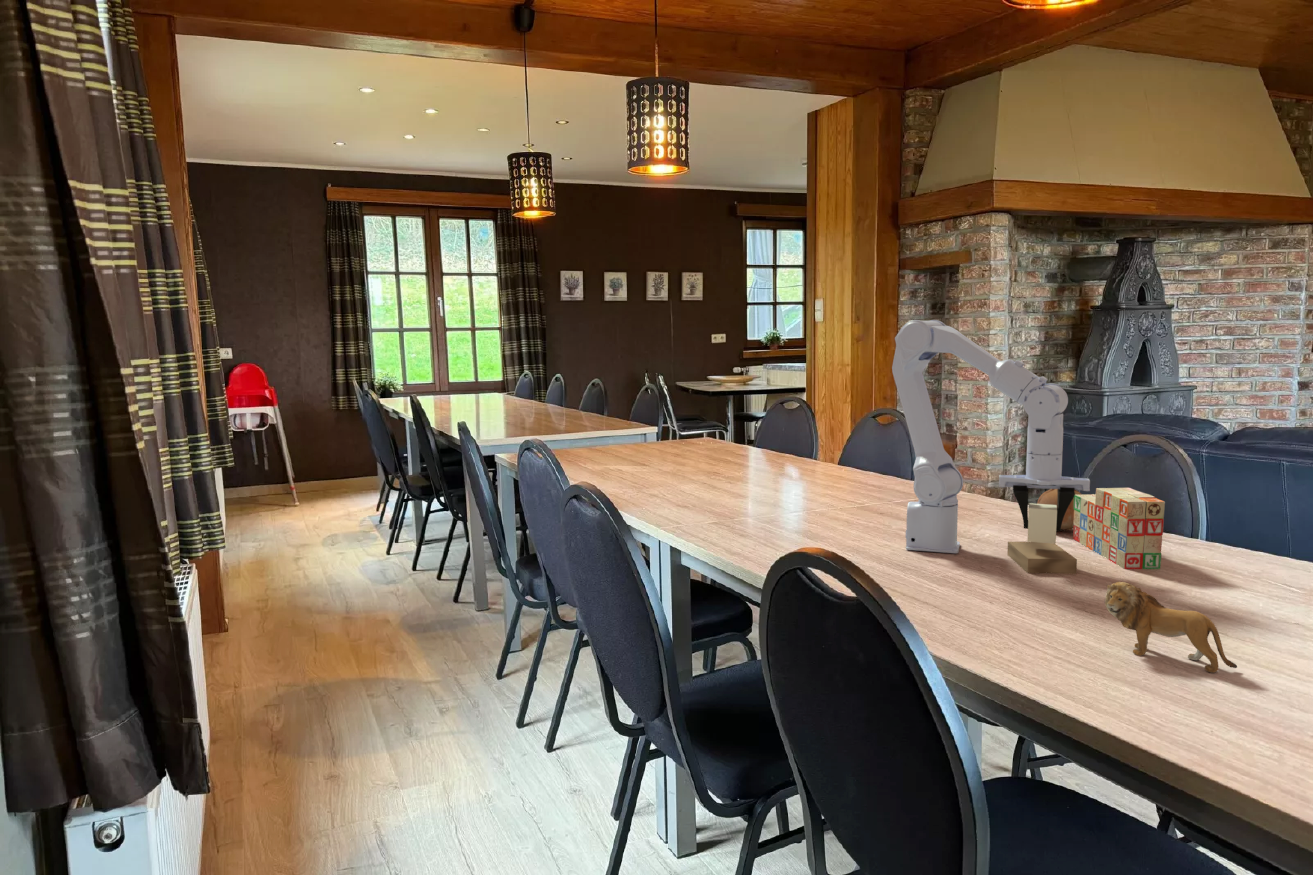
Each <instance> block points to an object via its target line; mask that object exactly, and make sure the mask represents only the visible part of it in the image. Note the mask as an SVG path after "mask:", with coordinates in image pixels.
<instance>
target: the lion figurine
mask: <svg viewBox="0 0 1313 875" xmlns="http://www.w3.org/2000/svg"><path fill="white" fill-rule="evenodd" d="M1106 587H1107V590H1106V594H1105V600H1104V604H1105V607H1106V609H1107V611H1108V612H1109V614H1110V615H1112V616H1113V617H1114V618H1115V619H1117V620H1118V621H1119V622H1120V623H1121V625H1122V627H1123V628H1126V629H1129V630H1132V631H1135V633H1136V639H1137V640H1136V641H1137V643H1134V649H1133V650H1132V653H1133V654H1134V655H1135V656H1139V657H1141V656H1144V655H1145V654H1147V651H1148V644H1149V638H1150V635H1151V633H1153V634H1156V635H1159V636H1164V637H1167V638H1177V637H1181V636H1185V635H1186V636H1187V638H1188V639H1189V641H1190V643H1191V644H1192V645H1193V647H1194V648H1195V649H1196V651H1195V653H1189V654H1188V655H1187V659H1189V660H1191V661H1199V660H1201V658H1203V656H1204V657H1205V658H1206V659H1208V661H1209V662H1210V664H1206V665H1205V666H1204V669H1205V671H1206V672H1207V673H1211V674H1215V673H1217V672H1218V670H1219V667H1220V666H1219V661H1218V655H1219V656H1220V659H1221V660H1222V661H1223V663H1224V665H1226V666H1228V667H1229V668H1234V669H1237V668H1238V666H1237V664H1236V663H1235V662H1232V661H1231V660H1229V659H1228V658H1227V657H1226V655H1225V652H1224V649H1223V645H1222V644H1223V643H1222V640H1221V638H1220V636H1221V635H1220V633H1219V631H1218V629H1217V627H1216V625H1215V623H1214V622H1213V621H1212V619H1210V618H1209V617H1208V616H1207V615H1205V614H1204V613H1201V612H1199V611H1196V610H1181V609H1180V610H1179V609H1174V608H1173V609H1172V608H1168V607H1165V605H1163V604H1161V603H1160V602H1159V601H1158V599H1157V598H1156V597H1155V596H1153V595H1152V594H1148V593H1147V592H1144V591H1143V590H1142V589H1141V587H1137V586H1135V585H1134V584H1132V583H1128V582H1125V581H1117V582H1114V583H1112V584H1108V585H1106ZM1210 633H1212V637H1213V641H1214V643H1215V646H1216V649H1217V651H1218V654H1217V653H1216V652H1215V651H1214V649H1213V648H1211V646H1210V643H1209V641H1208V637H1209V636H1210Z"/></svg>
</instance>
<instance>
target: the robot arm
mask: <svg viewBox="0 0 1313 875" xmlns="http://www.w3.org/2000/svg"><path fill="white" fill-rule="evenodd" d="M894 341H895V351H894V354H893V355H894V356H893V361H892V366H891V369H892V370H891V371H892V375H893V379H894V384H895V386H896V389H897V392H898V396H899V400H900V404H901V407H902V411H903V415H904V418H905V422H906V425H907V430H908V431H909V436H910V439H911V443H912V446H913V449H914V450H913V451H914V453H915V460H914V464H913V467H912V471H913V475H914V480H913V492H914V494H915V496H916V497H917V499H918V501H908V503H907V507H906V529H905V540H906V541H905V543H906V544H905V546H906V547H905V550H908V551H918V552H919V551H920V552H932V553H933V552H934V553H944V554H959V550H960V545H961V543H960V541H958V516H959V514H958V513H959V512H958V510H959V503H958V502H959V500H958V496H957V495H958V494H959V493H960V492H962V488H963V486H964V478H963V475H962V474H961V472H960V470H958V468H957V467H956V466H955V464H954V461H953V457H952V456H951V455H950V454H948V452H947V451H946V450H945V448H944V444H943V441H942V437H941V434H940V430H939V426H938V424H937V420H936V417H935V413H934V409H933V404H932V402H931V398H930V394H929V391H928V387H927V385H926V382H925V381H926V380H925V378H924V370H925V369H926V367H927V366H928V364H929V363H930V361H931V360H932V359H933V358H934V357H935V356H937V355H938V354H939V353H944V354H952V355H954V356H955V357H957V358H958V359H960V360H962V361H964V362H966V363H967V364H969V365H970V366H973V367H974V368H976V369H977V370H979V371H981V373H982V372H983V373H984V374H986V375H987V376H988V378H989V379H988V380H989V384H990V385H991V386H992V387H993V388H994V389H996V390H997V391H999V392H1000V393H1001V394H1004V395H1005V396H1007V397H1008V398H1010V399H1011V400H1013V401H1014V402H1016V403H1017V404H1018V405H1021V406H1023V409H1024V411H1025V413H1026V414H1027V415H1028V416H1027V418H1028V420H1027V432H1026V433H1027V437H1026V439H1027V440H1026V442H1027V443H1026V464H1025V465H1026V466H1025V467H1026V468H1025V474H1009V475H1008V474H1007V475H1006V474H999V475H998V476H999V477H998V488H1012V492H1013V494H1014V495H1013V496H1014V497H1015V499H1016V502H1017V504H1018V507H1019V509H1020V514H1021V516H1022V521H1023V529H1027V530H1028V515H1029V488H1030V489H1046V490H1049V489H1058V496H1057V525H1056V532H1057V531H1058V532H1060V531H1061V525H1062V521H1063V518H1064V515H1065V513H1066V511H1067V509H1068V507H1069V505H1070V503H1071V501H1072V500H1073V498H1074V496H1075V492H1074V491H1075V490H1077V491H1083V492H1090V491H1091V490H1090V488H1091V487H1090V486H1091V480H1090V478H1085V477H1074V476H1072V477H1071V476H1062V472H1063V471H1062V470H1063V450H1064V448H1063V447H1064V446H1063V444H1064V442H1063V441H1064V412H1065V410H1066V409H1067V406H1068V404H1069V397H1068V394H1067V392H1066V390H1064V388H1062V387H1061V385H1060V384H1058V383H1053V382H1052V383H1051V382H1049V383H1047V381H1048V378H1046V377H1045V376H1043V375H1042V376H1039V375H1037V374H1035V373H1034V372H1033V371H1030V370H1029V369H1027V368H1025V362H1023V361H1021V360H1020V359H1018V360H1017V359H1016V360H1013V359H1012V358H1011V359H1004V360H1000V359H999V358H997V357H995V355H993V354H991V353H990V352H989V351H987V350H986V349H984V348H983V347H981V346H980V345H978V344H977V343H975V341H973V340H971V339H970V338H969V337H967V336H966V335H964V334H963V333H961V332H960V331H959V330H957V329H956V328H955V327H952V326H950V325H946V324H945V323H944V322H942V321H941V320H939V319H931V320H919V319H914V320H913V319H912V320H909V321H907V322H906V323H905V324H904V325H902V327H901V328H900V330H899V331H898V333H897V334H896V335H895V337H894ZM1061 532H1062V531H1061Z"/></svg>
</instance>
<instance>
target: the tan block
mask: <svg viewBox="0 0 1313 875" xmlns="http://www.w3.org/2000/svg"><path fill="white" fill-rule="evenodd" d="M1007 556H1008V557H1009V558H1010V559H1011V560H1012V561H1013V562H1014V563H1015V564H1017V565H1018V567H1020V569H1022V570H1023V571H1024V572H1025V573H1026V574H1048V575H1049V574H1053V575H1055V574H1059V575H1062V574H1063V575H1077V570H1078V569H1077V567H1078V559H1077V558H1076V557H1074V556H1073V555H1072V554H1070V553H1069V552H1067V551H1066V550H1065V549H1063V548H1062V547H1060V546H1059V545H1058V544H1053V543H1040V542H1028V541H1007Z"/></svg>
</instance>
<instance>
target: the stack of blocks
mask: <svg viewBox="0 0 1313 875" xmlns="http://www.w3.org/2000/svg"><path fill="white" fill-rule="evenodd" d="M1165 505H1166V502H1165V501H1164V500H1161V499H1159V498H1157V497H1156V496H1153V495H1152V494H1149V493H1145V492H1143V491H1139V490H1136V489H1133V488H1131V487H1107V488H1106V487H1099V488H1098V487H1097V488H1095V494H1094V493H1092V494H1091V493H1090V494H1082V495H1075V496H1074V529H1072V530H1073V532H1072V533H1073V538H1072V539H1073V541H1076V542H1077V543H1078V544H1080V543H1081V545H1082V544H1083V545H1082V546H1084V545H1085V546H1084V547H1085V548H1087V547H1089V548H1090V549H1089V548H1088V549H1089V550H1091V551H1092V550H1093V551H1092V552H1094V551H1095V552H1094V553H1096V552H1097V553H1096V554H1098V553H1099V554H1098V555H1100V556H1101V557H1103V556H1104V557H1103V558H1105V557H1106V558H1105V559H1107V560H1109V561H1110V562H1111V561H1112V562H1111V563H1113V564H1115V565H1116V566H1118V565H1119V566H1118V567H1120V568H1122V569H1124V570H1161V564H1162V543H1163V534H1164V525H1165V524H1164V522H1165V519H1164V517H1165Z"/></svg>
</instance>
